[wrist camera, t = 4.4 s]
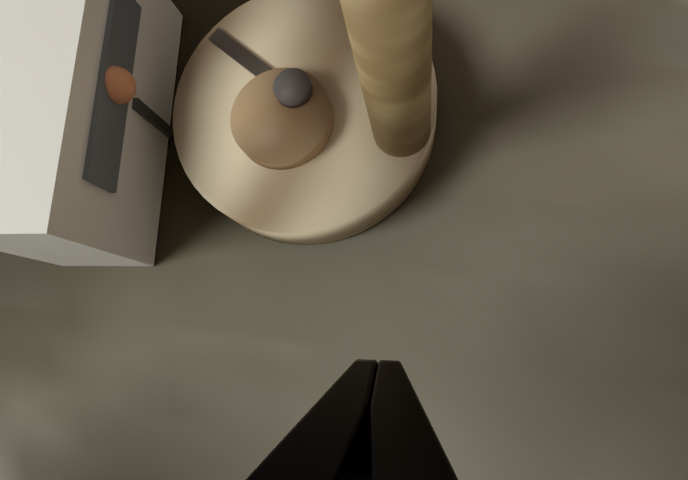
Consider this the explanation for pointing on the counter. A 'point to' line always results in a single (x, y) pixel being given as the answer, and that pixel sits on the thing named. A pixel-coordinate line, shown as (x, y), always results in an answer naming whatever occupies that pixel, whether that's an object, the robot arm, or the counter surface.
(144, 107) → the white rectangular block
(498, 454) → the counter surface
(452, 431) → the counter surface
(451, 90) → the counter surface
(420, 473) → the robot arm
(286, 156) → the cam dial
